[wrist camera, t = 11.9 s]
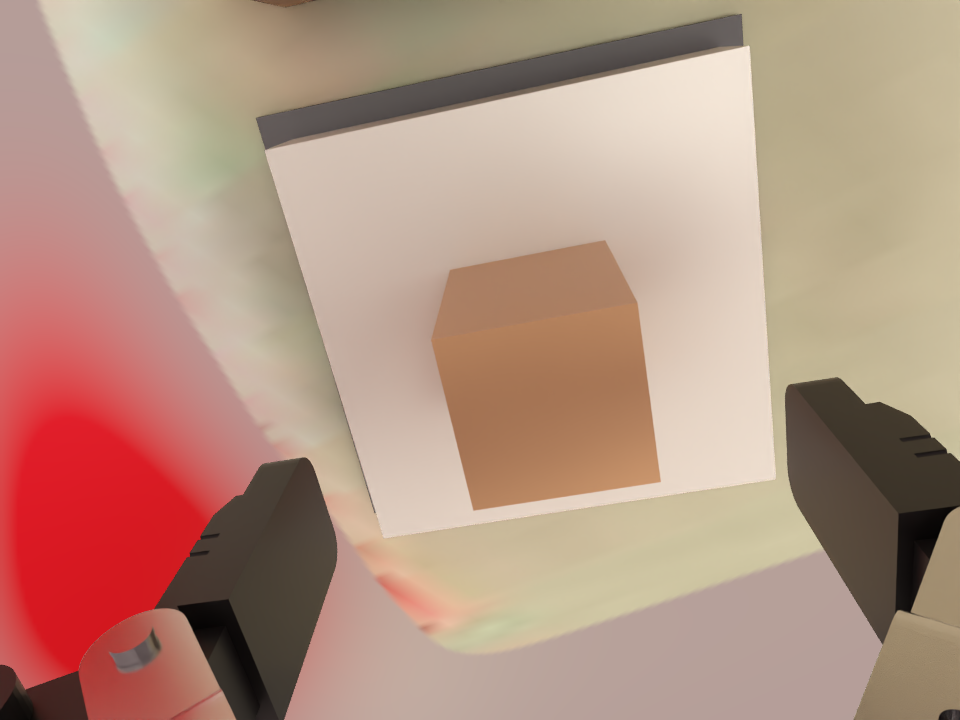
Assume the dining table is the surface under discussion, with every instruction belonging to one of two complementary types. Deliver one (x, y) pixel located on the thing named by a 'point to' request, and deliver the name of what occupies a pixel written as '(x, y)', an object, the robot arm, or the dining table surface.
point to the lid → (544, 292)
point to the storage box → (284, 2)
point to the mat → (498, 82)
